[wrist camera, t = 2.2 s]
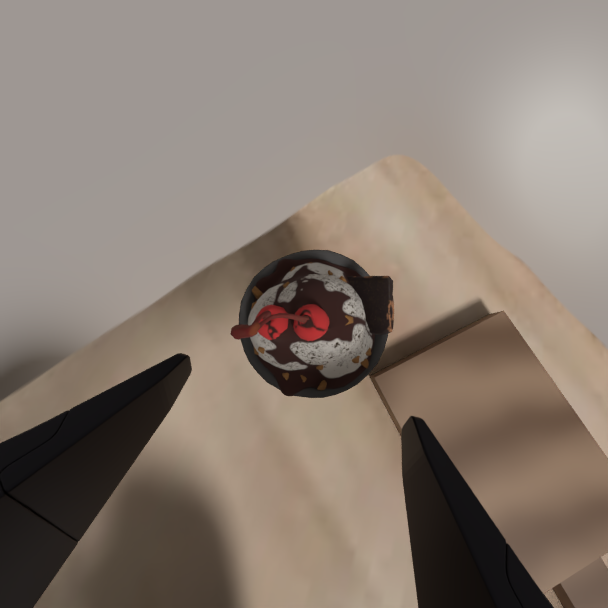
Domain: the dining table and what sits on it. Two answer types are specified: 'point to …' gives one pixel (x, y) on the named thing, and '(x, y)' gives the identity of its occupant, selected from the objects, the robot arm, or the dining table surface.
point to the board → (513, 450)
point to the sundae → (315, 323)
